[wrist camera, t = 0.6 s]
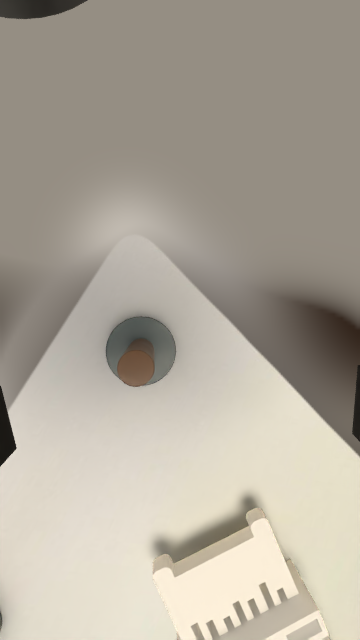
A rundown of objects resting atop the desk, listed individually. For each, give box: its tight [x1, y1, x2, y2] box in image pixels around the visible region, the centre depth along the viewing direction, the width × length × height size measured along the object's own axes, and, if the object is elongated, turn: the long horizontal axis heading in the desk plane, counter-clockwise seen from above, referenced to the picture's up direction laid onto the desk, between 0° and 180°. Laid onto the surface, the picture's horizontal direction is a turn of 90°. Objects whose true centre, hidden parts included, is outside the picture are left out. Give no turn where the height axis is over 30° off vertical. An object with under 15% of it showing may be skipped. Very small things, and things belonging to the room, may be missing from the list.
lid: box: [106, 317, 176, 387], centre depth 22 cm, size 6×6×9 cm
